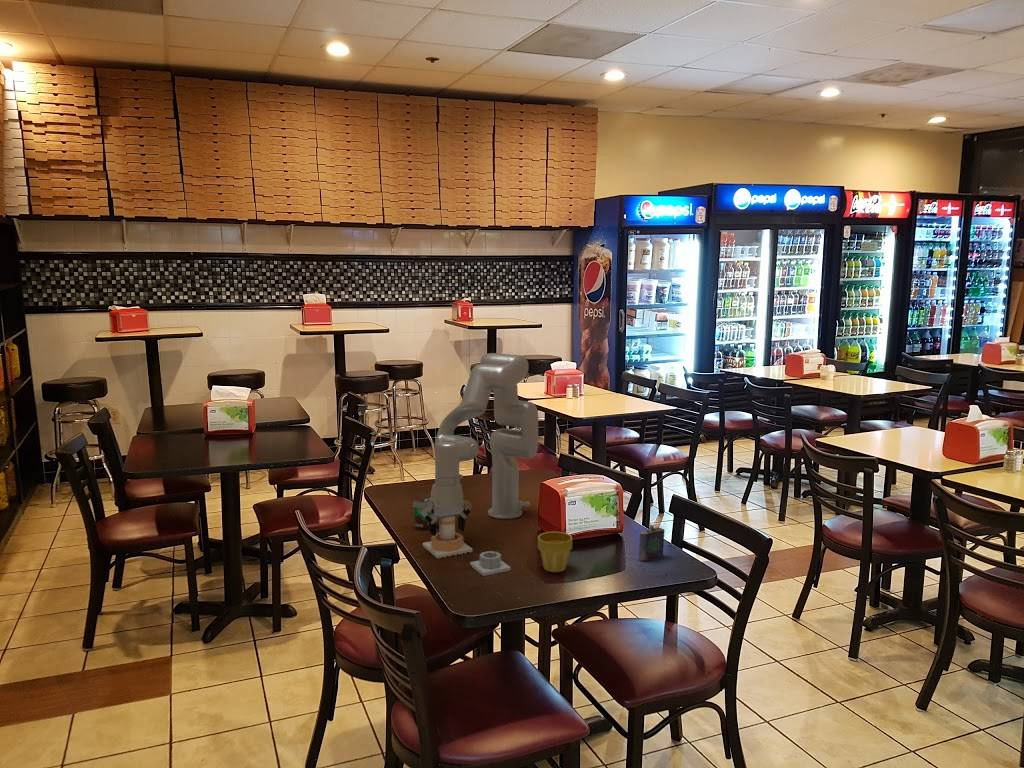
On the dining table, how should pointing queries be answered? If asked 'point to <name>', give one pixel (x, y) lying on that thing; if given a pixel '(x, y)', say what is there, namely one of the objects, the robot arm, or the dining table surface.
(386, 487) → the dining table surface
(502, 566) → the narrow socket
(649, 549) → the flask
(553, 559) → the plant pot
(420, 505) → the food container
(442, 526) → the beige peg
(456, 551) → the wide socket
